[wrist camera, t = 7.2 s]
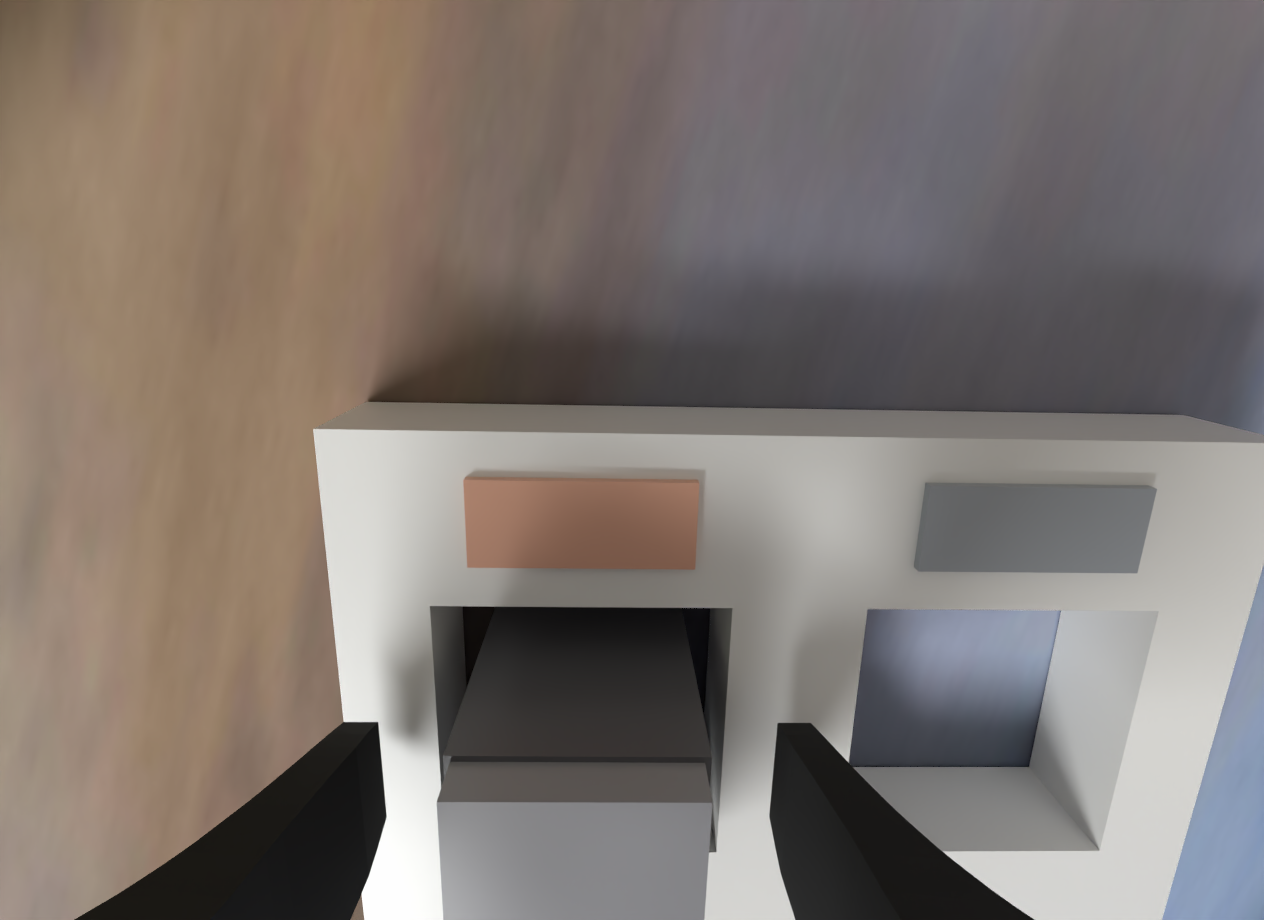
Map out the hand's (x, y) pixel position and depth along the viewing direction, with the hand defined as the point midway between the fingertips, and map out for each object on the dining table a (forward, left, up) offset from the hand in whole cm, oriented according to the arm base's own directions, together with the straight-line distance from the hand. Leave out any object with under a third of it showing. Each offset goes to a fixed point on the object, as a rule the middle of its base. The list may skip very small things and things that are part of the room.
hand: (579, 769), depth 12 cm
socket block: (-4, 0, -3) cm, 5 cm away
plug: (0, 0, -3) cm, 4 cm away
